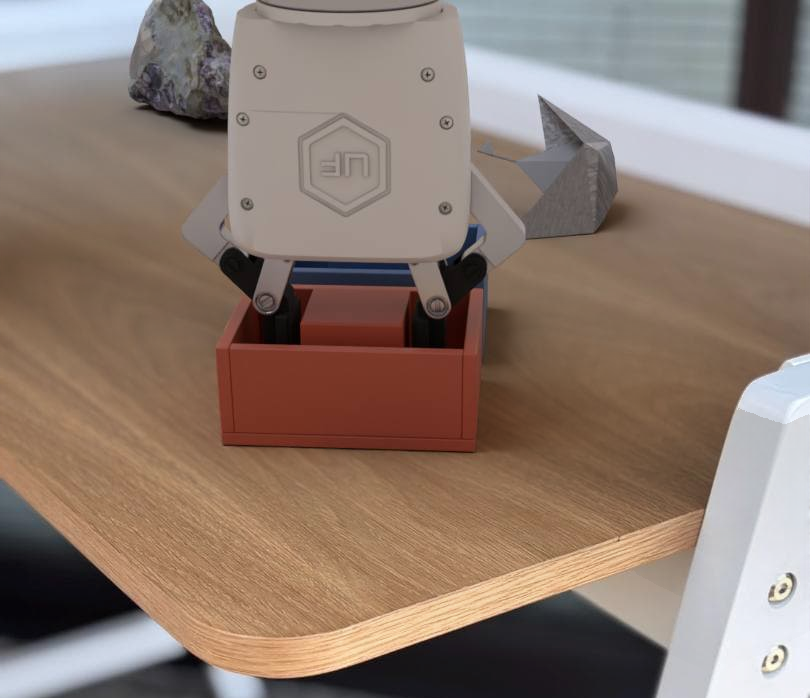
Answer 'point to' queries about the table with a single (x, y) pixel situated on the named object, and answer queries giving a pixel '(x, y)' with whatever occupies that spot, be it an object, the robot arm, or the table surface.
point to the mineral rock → (181, 60)
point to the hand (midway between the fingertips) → (356, 385)
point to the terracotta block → (357, 318)
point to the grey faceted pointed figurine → (567, 176)
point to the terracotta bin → (351, 385)
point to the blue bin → (379, 274)
